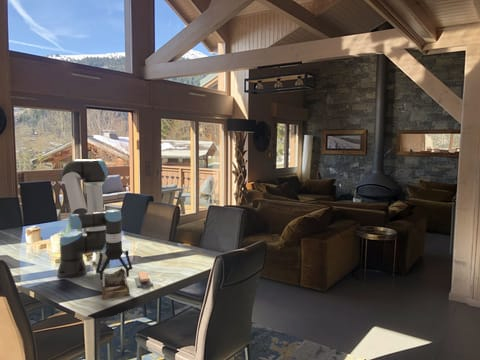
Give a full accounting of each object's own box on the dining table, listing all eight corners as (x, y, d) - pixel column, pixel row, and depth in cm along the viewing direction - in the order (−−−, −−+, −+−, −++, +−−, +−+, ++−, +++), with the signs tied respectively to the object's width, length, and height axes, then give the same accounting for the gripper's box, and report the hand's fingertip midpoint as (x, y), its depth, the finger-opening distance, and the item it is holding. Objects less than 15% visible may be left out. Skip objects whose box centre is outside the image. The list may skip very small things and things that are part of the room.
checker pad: (140, 281, 195) (140, 279, 195) (138, 274, 205) (138, 272, 205) (149, 280, 197) (149, 278, 196) (146, 273, 207) (146, 271, 207)
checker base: (137, 287, 194) (137, 282, 194) (134, 279, 205) (134, 274, 205) (153, 285, 197) (152, 280, 197) (149, 278, 208) (149, 273, 208)
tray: (102, 299, 180) (102, 293, 179) (101, 287, 194) (101, 282, 194) (129, 295, 184) (129, 290, 184) (126, 284, 199) (126, 279, 198)
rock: (124, 276, 199) (126, 267, 192) (126, 287, 195) (128, 278, 188) (102, 279, 194) (103, 270, 187) (103, 290, 191) (104, 281, 184)
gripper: (89, 245, 179) (90, 290, 181) (137, 241, 187) (138, 284, 190) (89, 241, 186) (90, 284, 188) (136, 237, 194) (136, 279, 196)
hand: (114, 284), depth 189 cm, fingers closed on rock, 10 cm apart
